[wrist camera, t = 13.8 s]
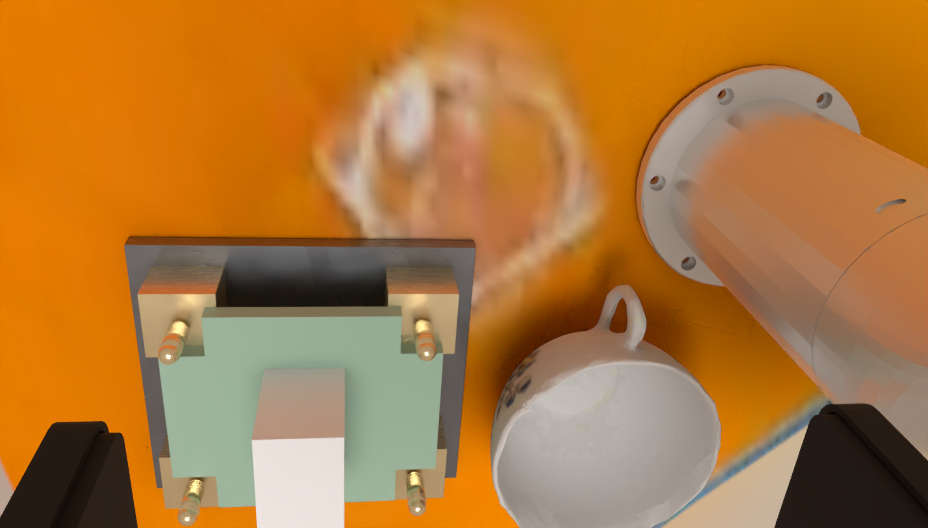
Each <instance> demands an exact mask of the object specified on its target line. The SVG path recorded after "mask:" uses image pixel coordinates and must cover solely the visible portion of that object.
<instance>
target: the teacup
mask: <svg viewBox="0 0 928 528" xmlns="http://www.w3.org/2000/svg"><path fill="white" fill-rule="evenodd" d="M622 298H623V299H624V300H625V302H626V307H627V316H628V321H627V329H626V331H625V332H624V333H614V332H612V331H610V329H609V326H610V323H611V318H612V317H613V315H614V314H615V310H616V307H617V304H618V303H619V301H620V299H622ZM645 330H646V317H645V313H644V310H643V308H642V305H641V302H640V300H639V298H638V296H637V294H636V293H635V291H634V290H633V288H632V287H631V286H629V285H619V286H616V287H615V288H614V289H612V290H611V291H610V292H609V293H608V295H607V297H606V300H605V302H604V305H603V309H602V313H601V316H600V319H599V322H598V323H597V325H596V326H595V327H594V328H592V329H590V330H588V331H581V332H575V333H570V334H567V335H563V336H561V337H558V338H555V339H553V340H551V341H549V342H547V343H545V344H543V345H542V346H540V347H539V348H538V349H536V350H535V351H533V352H532V353H531V354H530V355H529V356H527V357H526V358H525V359H524V360H523V361H522V362H521V363H520V364H519V366H518V367H517V368H516V369H515V371H514V372H513V374H512V375H511V377H510V378H509V380H508V382H507V383H506V385H505V387H504V389H503V391H502V394H501V396H500V399H499V401H498V404H497V407H496V411H495V415H494V420H493V425H492V433H491V467H492V478H493V484H494V488H495V490H496V492H497V495H498V498H499V501H500V504H501V505H502V507H504V508H505V509H506V511H507V512H508V514H509V515H510V516H511V517H512V518H513V519H514V520H515V522H516V523H517V524H518V526H519V527H520V528H651V527H653V526H654V525H656V524H658V523H660V522H663V521H666V520H667V519H669V518H670V517H671V516H673V515H674V514H675V513H676V512H678V511H679V510H680V509H681V508H683V507H684V506H685V505H686V504H687V503H689V502H690V501H691V500H692V499H693V498H694V497H696V496H697V494H698V493H699V492H700V491H701V490H702V489H703V488H704V486H705V485H706V483H707V481H708V479H709V477H710V476H711V474H712V471H713V469H714V467H715V465H716V462H717V456H718V452H719V449H720V439H721V436H720V435H721V424H720V420H719V417H718V414H717V410H716V406H715V402H714V401H713V400H712V398H711V397H710V396H709V395H708V393H707V392H706V391H705V389H704V388H703V387H702V385H701V384H700V383H699V381H698V380H697V379H696V378H695V377H694V376H693V375H692V374H691V373H690V372H689V371H688V370H687V369H686V368H685V367H684V366H682V365H681V364H680V363H679V362H677V361H676V360H675V359H674V358H672V357H671V356H670V355H668V354H667V353H665V352H664V351H662V350H661V349H659V348H657V347H656V346H654V345H652V344H650V343H648V342H645V341H643V340H642V338H643V336H644V334H645Z"/></svg>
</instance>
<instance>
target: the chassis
mask: <svg viewBox="0 0 928 528" xmlns="http://www.w3.org/2000/svg"><path fill="white" fill-rule="evenodd" d="M124 247H125V254H126V261H127V269H128V276H129V284H130V291H131V298H132V306H133V313H134V321H135V328H136V335H137V343H138V350H139V358H140V365H141V372H142V380H143V387H144V395H145V402H146V409H147V417H148V424H149V432H150V439H151V446H152V454H153V461H154V469H155V476H156V483H157V488H163V493H164V501H165V509H168V508H180V509H179V513H178V520H179V522H180V523H181V524H182V525H184V526H190V525H192V524H194V523H195V522H196V520H197V518H198V514H199V510H200V507H218V506H219V504H218V493H217V482H216V476H211V477H183V478H173V474H172V466H171V458H170V450H169V442H168V434H167V426H166V418H165V410H164V402H163V394H162V386H161V378H160V370H159V362H158V358H159V360H160V361H161V362H162V363H164V364H166V365H171V364H174V363H176V362H177V361H178V360H179V359H180V356H181V354H182V351H183V348H184V346H204V342H203V331H202V320H201V317H202V314H203V311H204V308H205V307H401V312H402V329H401V343H415V346H416V353H417V356H418V357H419V359H421V360H423V361H430V360H432V359H433V358H434V357H435V356H436V353H437V349H436V343H441V344H442V349H443V366H442V381H441V395H440V410H439V425H438V439H437V454H436V469H409V470H396V481H395V499H408V509H409V511H410V513H411V514H412V515H415V516H420V515H422V514H423V513H424V512H425V511H426V507H427V505H426V498H443V495H444V482H445V478H452V477H456V471H457V460H458V448H459V436H460V425H461V413H462V401H463V390H464V378H465V366H466V355H467V343H468V331H469V320H470V308H471V296H472V285H473V273H474V261H475V250H476V248H475V245H474V242H473V240H397V239H299V238H201V237H129V238H128V240H127V241H126V243H125V245H124Z"/></svg>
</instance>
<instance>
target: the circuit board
mask: <svg viewBox="0 0 928 528" xmlns="http://www.w3.org/2000/svg"><path fill="white" fill-rule="evenodd" d="M201 320H202V331H203V342H204V346H184V348H183V351H182V354H181V356H180V359H179V360H178V361H177V362H176V363H174V364H171V365H166V364H164V363H162V362H161V361H160V360H159V358H158V362H159V370H160V378H161V386H162V394H163V402H164V410H165V418H166V426H167V434H168V442H169V450H170V458H171V466H172V474H173V478H183V477H211V476H216V482H217V493H218V504H219V507H243V506H256V515H257V528H344V502H364V501H388V500H395V481H396V470H409V469H436V454H437V439H438V425H439V410H440V395H441V381H442V366H443V349H442V344H441V343H436V349H437V353H436V356H435V357H434V358H433V359H432V360H430V361H423V360H421V359H419V357H418V356H417V353H416V346H415V343H401V329H402V312H401V307H205V308H204V311H203V314H202V317H201Z"/></svg>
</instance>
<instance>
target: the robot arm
mask: <svg viewBox="0 0 928 528" xmlns="http://www.w3.org/2000/svg"><path fill="white" fill-rule="evenodd" d="M721 90H722V94H721V95H720V96H719V97H717V96H718V94H719V92H720V91H721ZM655 176H656V178H655V180H653V181H651V179H652V178H653V177H655ZM650 181H651V182H650ZM636 204H637V210H638V216H639V221H640V224H641V226H642V229H643V231H644V234H645V236H646V239H647V240H648V241H649V243H650V244H651V246H652V247H653V249H654V250H655V251H656V253H657V254H658V255H659V256H660V257H661V258H662V259H663V260H664V262H665V263H666V264H667V265H668V266H669V267H671V268H672V269H673V270H675V271H676V272H677V273H679V274H680V275H682V276H684V277H687V278H689V279H692V280H694V281H696V282H699V283H703V284H708V285H714V286H725V287H726V288H727V289H728V290H729V291H730V292H731V293H732V294H733V295H734V296H735V298H736V299H737V300H738V301H739V302H740V303H741V304H742V305H743V306H744V307H745V308H746V310H747V311H748V312H749V313H750V314H751V315H752V316H753V317H754V318H755V319H756V320H757V321H758V323H759V324H760V325H761V326H762V327H763V328H764V329H765V330H766V331H767V332H768V333H769V335H770V336H771V337H772V338H773V339H774V340H775V341H776V342H777V343H778V344H779V345H780V347H781V348H782V349H783V350H784V351H785V352H786V353H787V354H788V355H789V356H790V357H791V358H792V360H793V361H794V362H795V363H796V364H797V365H798V366H799V367H800V368H801V369H802V370H803V372H804V373H805V374H806V375H807V376H808V377H809V378H810V379H811V380H812V381H813V382H814V384H815V385H816V386H817V387H818V388H819V389H820V390H821V391H822V392H823V393H824V394H825V395H826V397H827V398H828V399H829V400H830V401H831V402H832V403H833V404H830V405H826V406H825V407H824V408H822V409H821V411H820V413H819V415H815V416H814V417H813V418H812V419H811V420H810V422H809V425H808V428H807V431H806V434H805V437H804V440H803V443H802V446H801V449H800V452H799V455H798V459H797V461H796V464H795V467H794V470H793V473H792V476H791V479H790V482H789V486H788V489H787V491H786V494H785V497H784V500H783V503H782V506H781V509H780V512H779V515H778V518H777V521H776V525H775V528H928V168H926V167H924V166H922V165H920V164H918V163H916V162H914V161H912V160H910V159H908V158H906V157H904V156H902V155H900V154H898V153H896V152H894V151H892V150H890V149H888V148H886V147H884V146H882V145H880V144H878V143H876V142H874V141H872V140H870V139H868V138H866V137H864V136H862V135H861V130H860V126H859V122H858V120H857V118H856V116H855V114H854V112H853V110H852V108H851V106H850V104H849V103H848V102H847V101H846V100H845V98H844V97H843V96H842V95H841V94H840V93H839V91H838V90H836V89H835V88H834V87H832V86H831V85H829V84H828V83H827V82H825V81H824V80H822V79H821V78H818V77H816V76H814V75H812V74H809V73H807V72H805V71H801V70H798V69H794V68H790V67H787V66H774V65H760V66H754V67H748V68H741V69H738V70H735V71H733V72H730V73H727V74H724V75H721V76H719V77H717V78H715V79H713V80H712V81H710V82H708V83H706V84H704V85H703V86H701V87H699V88H698V89H696V90H695V91H694V92H693V93H691V94H690V95H689V96H688V97H686V98H685V99H684V100H683V101H681V102H680V103H679V104H678V105H677V106H676V107H675V108H674V110H673V111H672V112H671V113H670V114H669V115H668V116H667V117H666V118H665V119H664V121H663V122H662V124H661V125H660V127H659V128H658V130H657V131H656V133H655V134H654V136H653V138H652V139H651V141H650V143H649V145H648V148H647V150H646V153H645V155H644V157H643V160H642V162H641V167H640V171H639V176H638V180H637V196H636ZM0 528H138V527H137V520H136V514H135V507H134V501H133V494H132V488H131V481H130V475H129V468H128V462H127V455H126V449H125V442H124V438H123V435H122V434H121V433H109V430H108V427H107V425H106V423H105V422H103V421H92V422H56V423H54V424H52V425H51V427H50V428H49V429H48V431H47V433H46V435H45V437H44V438H43V440H42V442H41V444H40V446H39V448H38V449H37V451H36V453H35V455H34V457H33V459H32V460H31V462H30V464H29V466H28V468H27V469H26V471H25V473H24V475H23V477H22V479H21V480H20V482H19V484H18V486H17V488H16V490H15V491H14V493H13V495H12V497H11V499H10V501H9V502H8V504H7V506H6V508H5V510H4V512H3V514H2V515H1V517H0Z"/></svg>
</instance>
